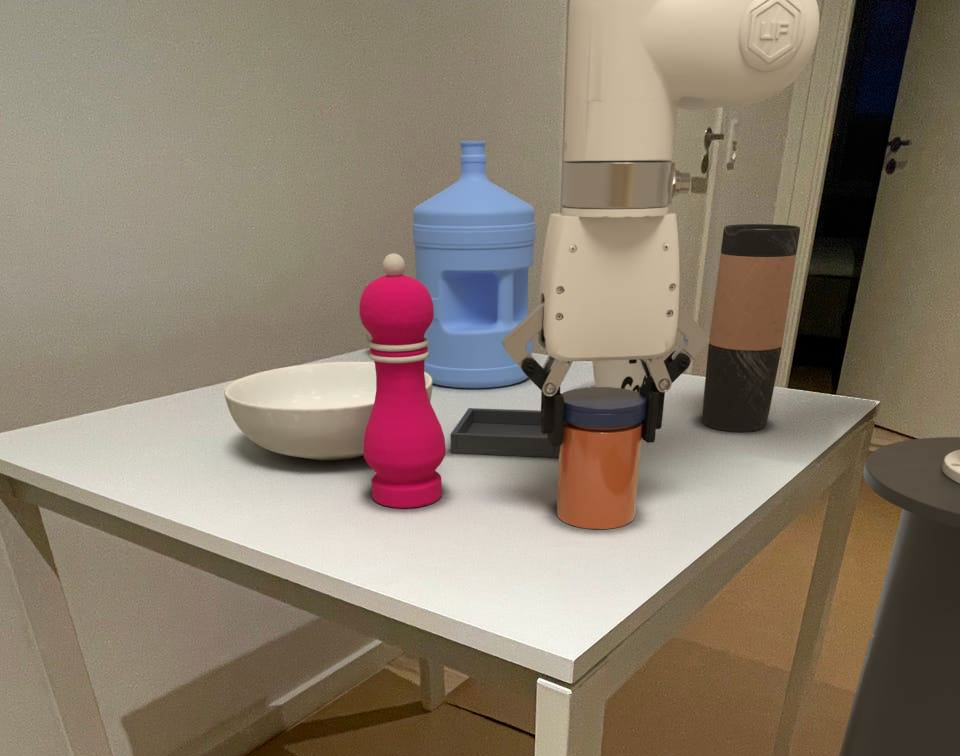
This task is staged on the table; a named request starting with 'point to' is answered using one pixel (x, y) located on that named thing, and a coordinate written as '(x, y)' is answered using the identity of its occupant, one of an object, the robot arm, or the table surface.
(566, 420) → the jar lid
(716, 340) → the travel mug
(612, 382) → the cup
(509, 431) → the tray
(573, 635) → the table surface
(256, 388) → the serving bowl
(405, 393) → the pepper mill
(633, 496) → the jar
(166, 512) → the table surface
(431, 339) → the water jug
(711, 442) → the table surface
